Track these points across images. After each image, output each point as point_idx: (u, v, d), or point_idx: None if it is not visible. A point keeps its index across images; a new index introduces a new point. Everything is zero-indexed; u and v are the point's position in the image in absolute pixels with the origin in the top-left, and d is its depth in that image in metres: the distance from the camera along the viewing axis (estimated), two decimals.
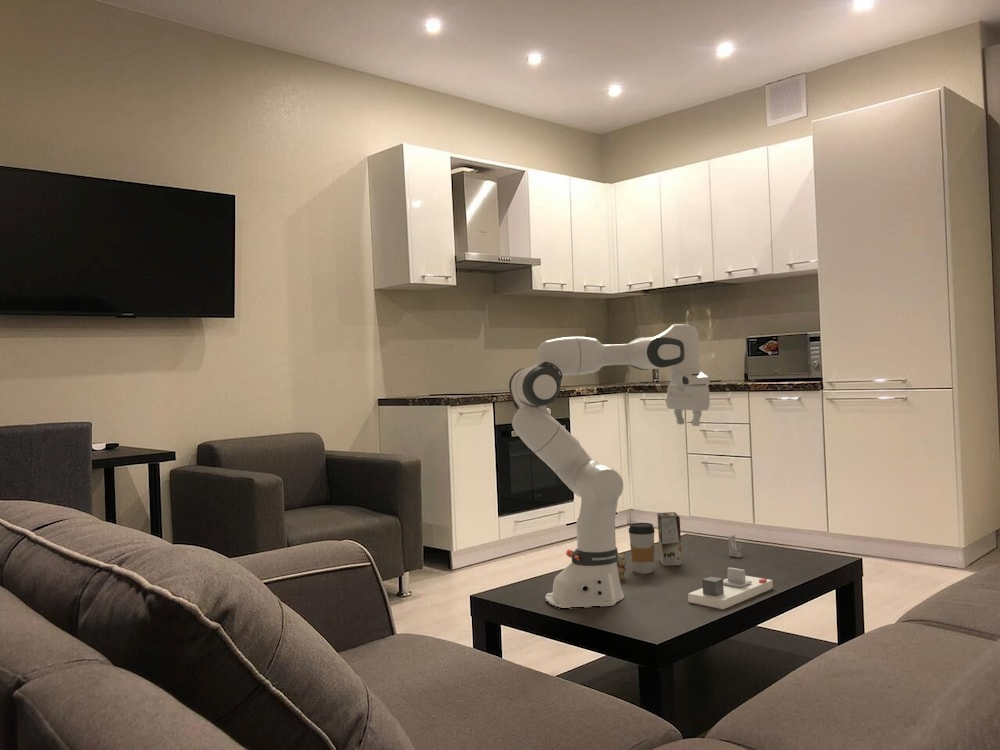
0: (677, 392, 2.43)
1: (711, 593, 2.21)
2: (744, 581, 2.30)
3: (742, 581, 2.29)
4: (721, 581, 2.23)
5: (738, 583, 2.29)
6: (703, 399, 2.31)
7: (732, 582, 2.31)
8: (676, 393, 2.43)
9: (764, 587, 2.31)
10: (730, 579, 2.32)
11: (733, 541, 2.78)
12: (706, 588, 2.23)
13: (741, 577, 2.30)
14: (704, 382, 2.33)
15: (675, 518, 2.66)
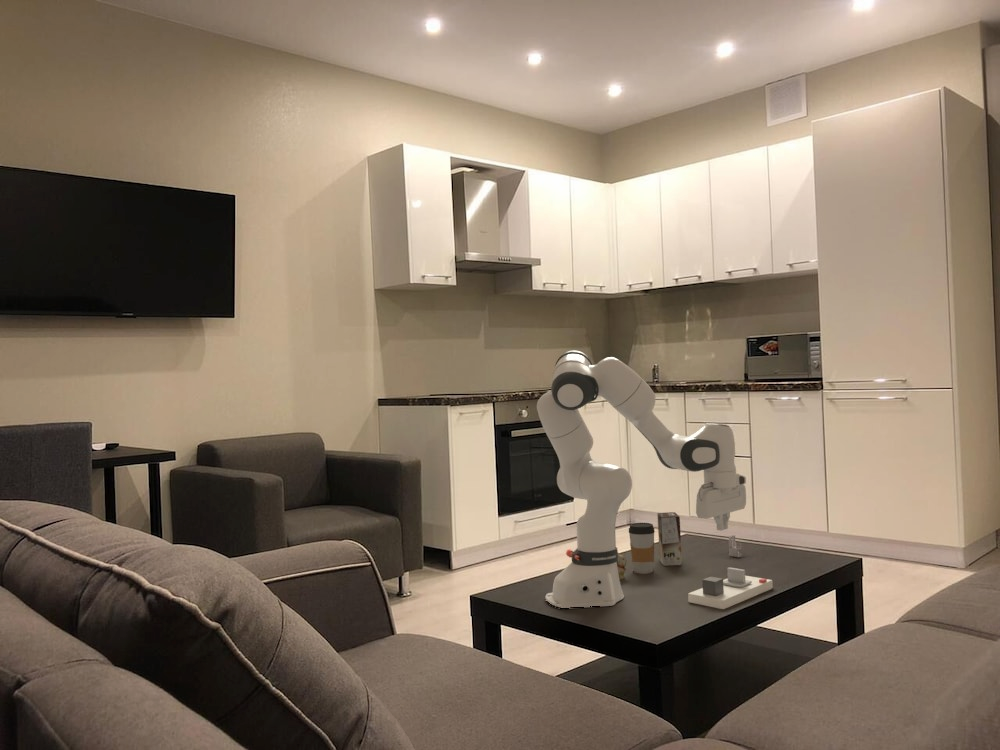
0: (720, 496, 2.24)
1: (711, 593, 2.21)
2: (744, 581, 2.30)
3: (742, 581, 2.29)
4: (721, 581, 2.23)
5: (738, 583, 2.29)
6: None
7: (732, 582, 2.31)
8: (719, 498, 2.24)
9: (764, 587, 2.31)
10: (730, 579, 2.32)
11: (733, 541, 2.79)
12: (706, 588, 2.23)
13: (741, 577, 2.30)
14: None
15: (675, 518, 2.66)
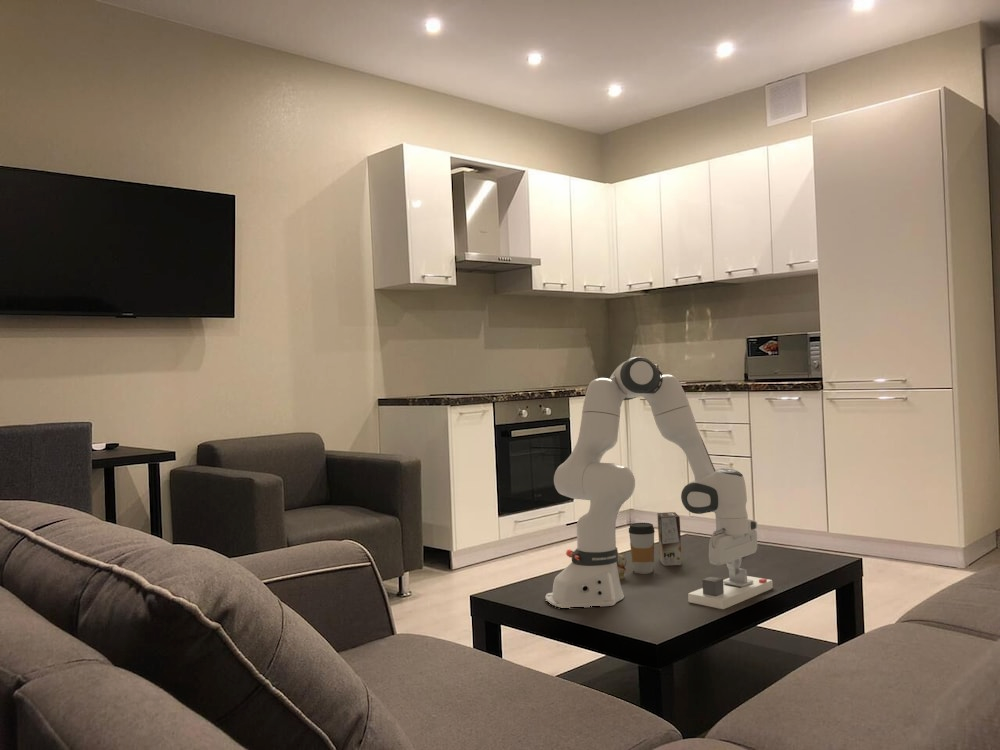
0: (732, 542, 2.28)
1: (711, 593, 2.21)
2: (746, 580, 2.30)
3: (744, 580, 2.30)
4: (721, 581, 2.23)
5: (740, 582, 2.30)
6: None
7: (734, 581, 2.31)
8: (731, 544, 2.27)
9: (764, 587, 2.31)
10: (732, 578, 2.33)
11: None
12: (706, 588, 2.23)
13: (743, 576, 2.30)
14: None
15: (675, 518, 2.66)
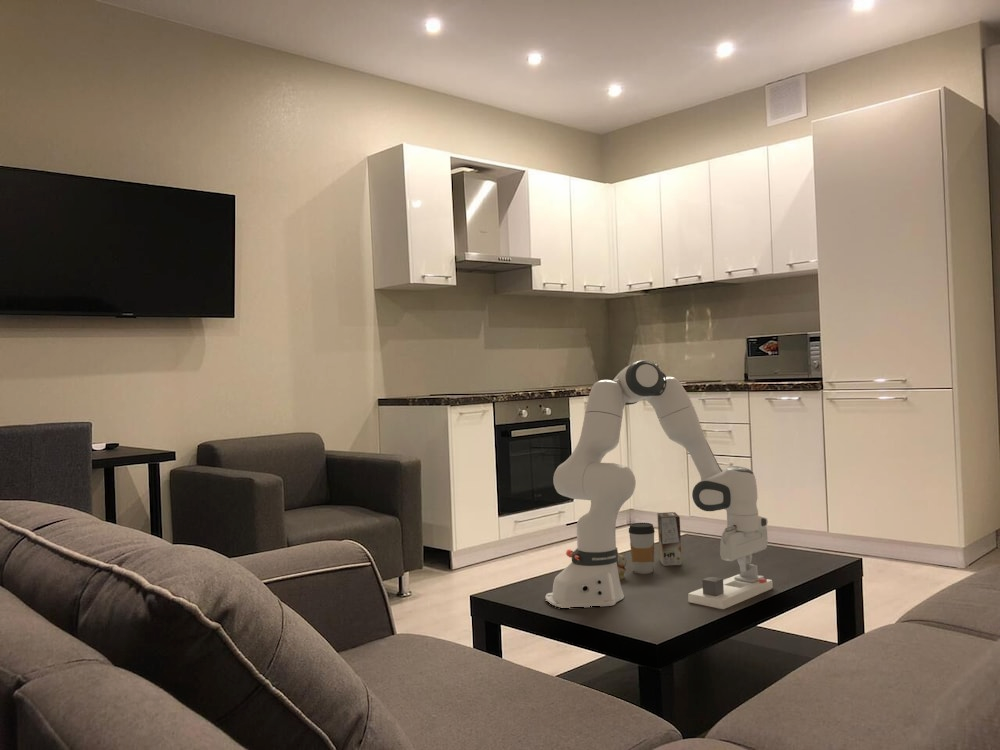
0: (743, 539, 2.32)
1: (711, 593, 2.21)
2: (756, 576, 2.34)
3: (754, 576, 2.34)
4: (721, 581, 2.23)
5: (751, 578, 2.34)
6: None
7: (745, 577, 2.35)
8: (742, 540, 2.31)
9: (764, 587, 2.31)
10: (743, 574, 2.37)
11: None
12: (706, 588, 2.23)
13: (753, 572, 2.34)
14: None
15: (675, 518, 2.66)
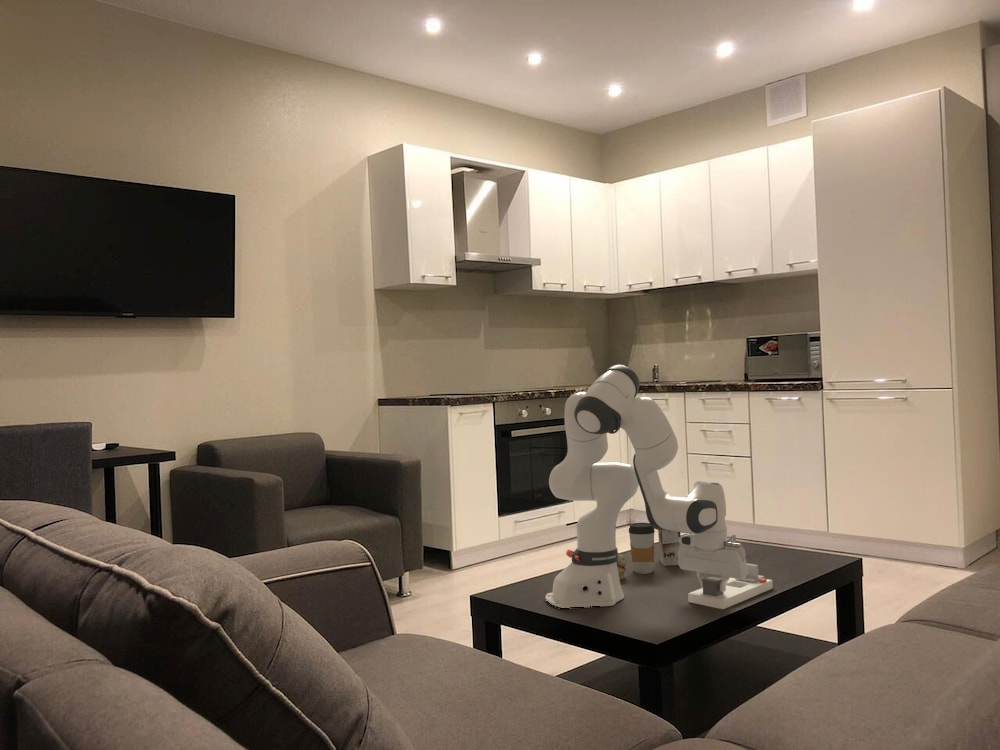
0: None
1: (711, 593, 2.21)
2: (757, 576, 2.34)
3: (755, 576, 2.34)
4: (721, 581, 2.23)
5: (751, 578, 2.34)
6: None
7: (745, 577, 2.35)
8: None
9: (764, 587, 2.31)
10: None
11: (734, 541, 2.79)
12: (706, 588, 2.23)
13: (754, 572, 2.34)
14: None
15: None
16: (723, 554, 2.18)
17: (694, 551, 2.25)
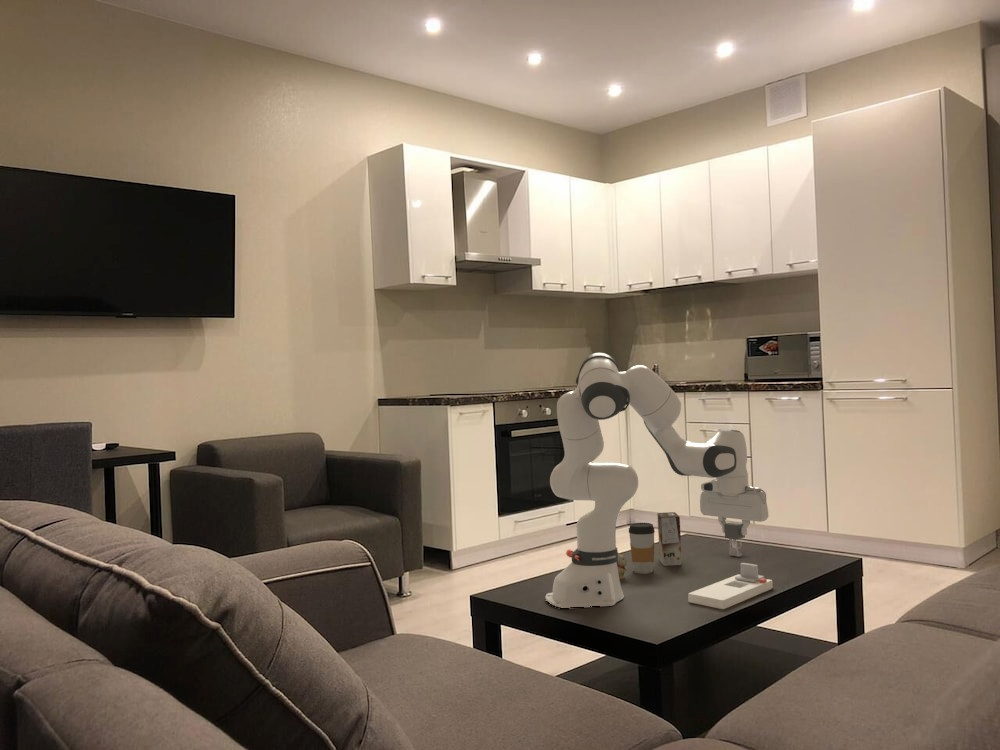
0: None
1: (733, 537, 2.29)
2: (757, 576, 2.34)
3: (755, 576, 2.34)
4: (742, 525, 2.31)
5: (751, 578, 2.34)
6: None
7: (745, 577, 2.35)
8: None
9: (764, 587, 2.31)
10: (743, 574, 2.37)
11: (734, 541, 2.79)
12: (727, 532, 2.31)
13: (754, 572, 2.34)
14: None
15: (675, 518, 2.66)
16: (744, 498, 2.26)
17: (716, 497, 2.33)
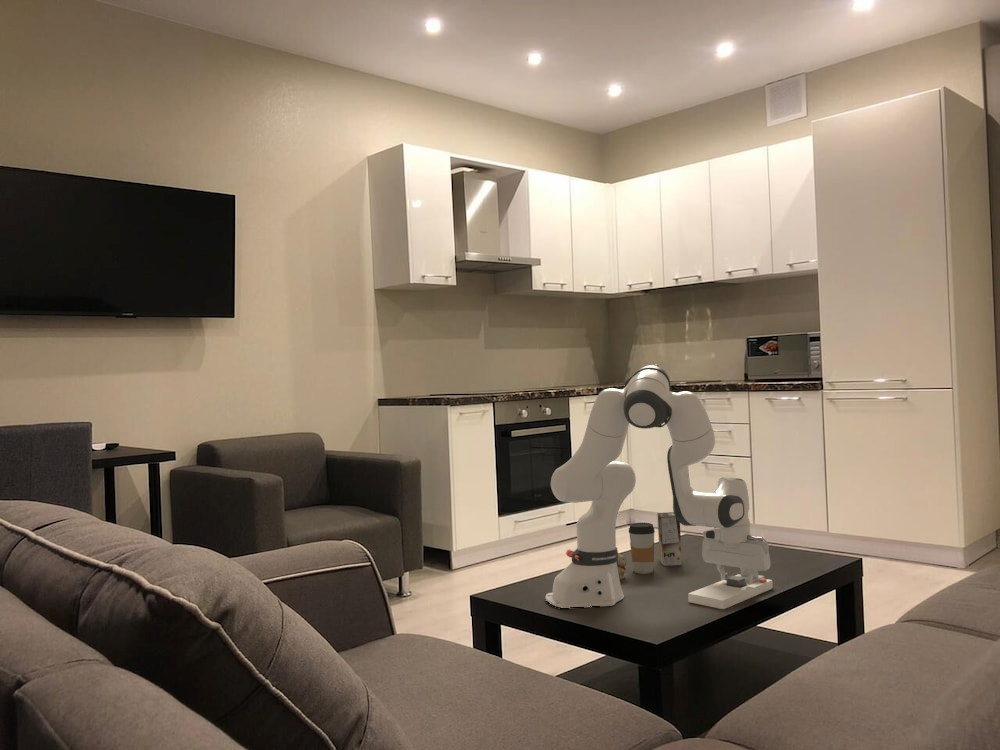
0: None
1: None
2: (757, 576, 2.34)
3: (755, 576, 2.34)
4: (744, 580, 2.31)
5: None
6: None
7: (745, 577, 2.35)
8: None
9: (764, 587, 2.31)
10: (743, 574, 2.37)
11: None
12: None
13: None
14: None
15: (675, 518, 2.66)
16: (747, 548, 2.27)
17: (718, 545, 2.33)
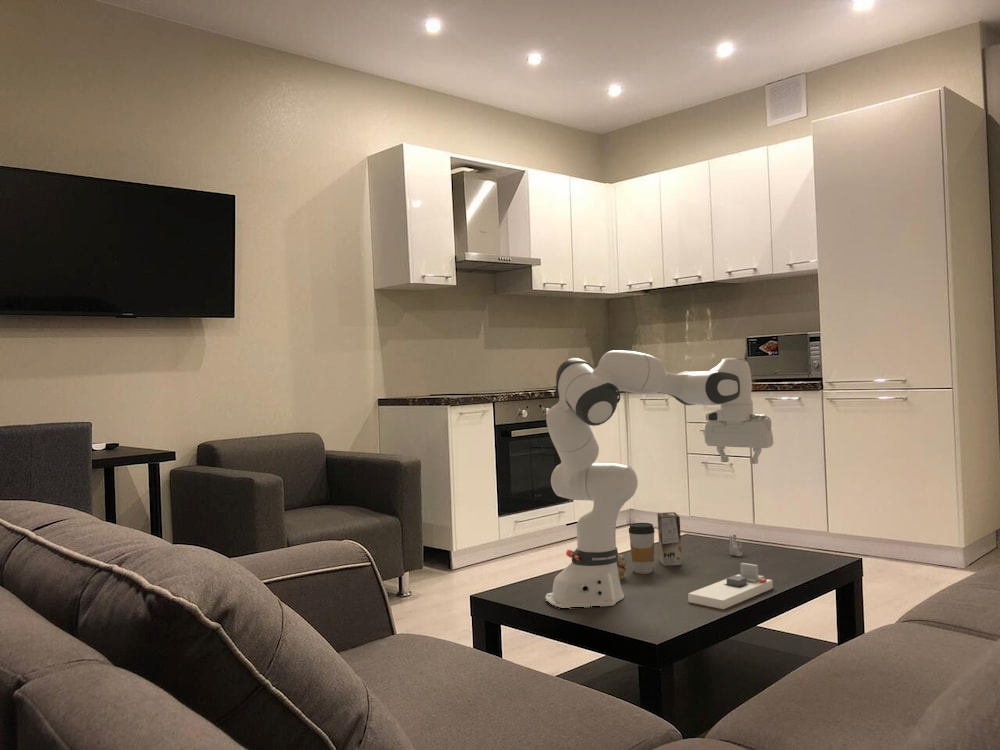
0: None
1: None
2: (757, 576, 2.34)
3: (755, 576, 2.34)
4: (744, 580, 2.31)
5: (751, 578, 2.34)
6: None
7: (745, 577, 2.35)
8: None
9: (764, 587, 2.31)
10: (743, 574, 2.37)
11: (734, 540, 2.80)
12: None
13: (754, 572, 2.34)
14: None
15: (675, 518, 2.66)
16: (749, 426, 2.27)
17: (720, 426, 2.33)
